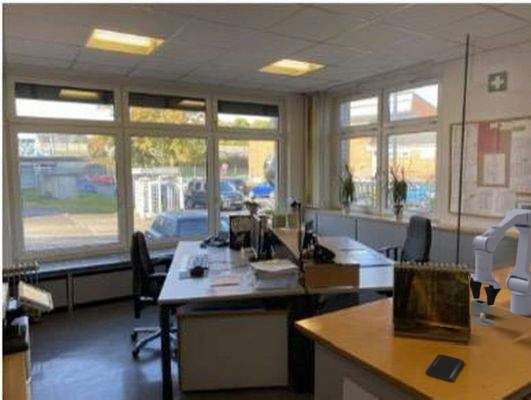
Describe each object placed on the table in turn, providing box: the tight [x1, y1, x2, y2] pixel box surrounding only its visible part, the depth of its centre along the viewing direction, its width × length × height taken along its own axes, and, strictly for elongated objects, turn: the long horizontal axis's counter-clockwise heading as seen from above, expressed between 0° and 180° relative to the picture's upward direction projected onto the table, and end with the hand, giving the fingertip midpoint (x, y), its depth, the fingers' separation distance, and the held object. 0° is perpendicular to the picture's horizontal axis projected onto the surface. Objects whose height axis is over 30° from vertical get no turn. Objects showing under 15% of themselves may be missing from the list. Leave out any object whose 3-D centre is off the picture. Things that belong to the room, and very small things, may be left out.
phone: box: [424, 353, 465, 383], centre depth 128 cm, size 8×1×15 cm
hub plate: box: [470, 313, 496, 327], centre depth 161 cm, size 7×7×4 cm
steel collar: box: [470, 298, 491, 317], centre depth 169 cm, size 5×5×5 cm
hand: (483, 301), depth 158 cm, fingers open, 7 cm apart
